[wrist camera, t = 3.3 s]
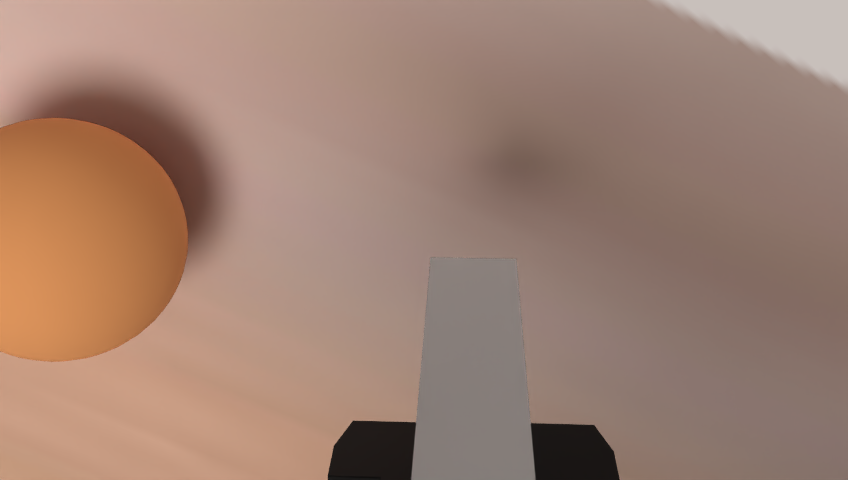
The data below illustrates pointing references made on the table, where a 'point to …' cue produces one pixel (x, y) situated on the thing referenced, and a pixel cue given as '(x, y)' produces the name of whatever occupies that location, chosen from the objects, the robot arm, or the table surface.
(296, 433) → the table surface
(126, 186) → the ball
